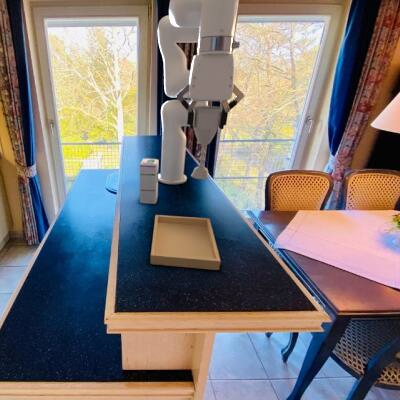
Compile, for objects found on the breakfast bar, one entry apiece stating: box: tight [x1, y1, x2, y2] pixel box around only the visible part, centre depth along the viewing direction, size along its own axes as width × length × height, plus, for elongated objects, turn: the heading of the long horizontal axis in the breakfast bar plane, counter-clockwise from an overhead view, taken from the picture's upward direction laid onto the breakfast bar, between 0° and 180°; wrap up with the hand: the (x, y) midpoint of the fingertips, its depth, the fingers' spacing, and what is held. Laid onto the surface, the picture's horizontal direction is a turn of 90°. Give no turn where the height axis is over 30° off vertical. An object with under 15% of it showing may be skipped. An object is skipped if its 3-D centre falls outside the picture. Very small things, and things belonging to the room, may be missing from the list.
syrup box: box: [139, 158, 160, 205], centre depth 91 cm, size 6×6×14 cm
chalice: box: [190, 105, 223, 180], centre depth 69 cm, size 7×7×18 cm
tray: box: [150, 214, 221, 271], centre depth 69 cm, size 20×16×3 cm
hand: (205, 127), depth 67 cm, fingers closed on chalice, 6 cm apart
